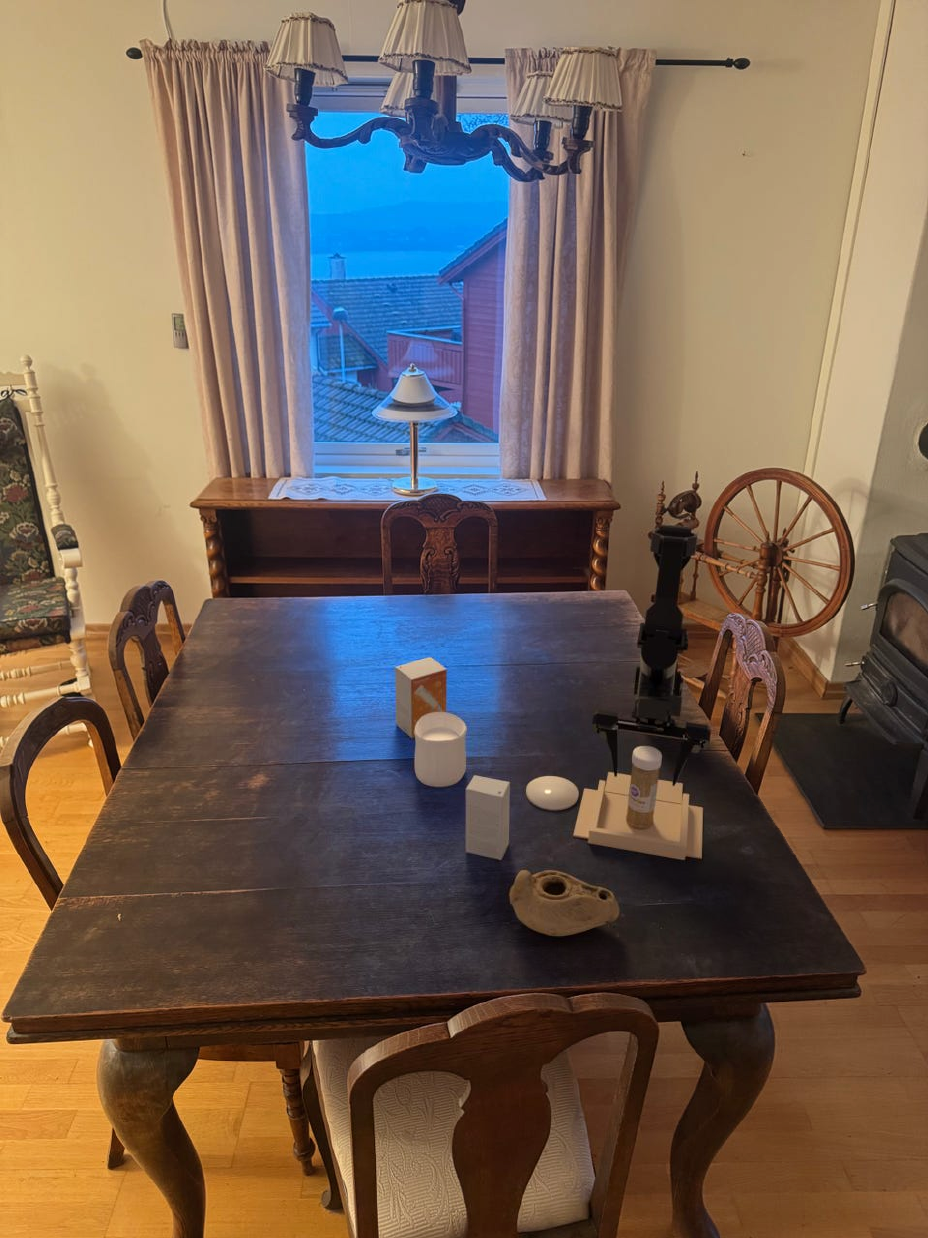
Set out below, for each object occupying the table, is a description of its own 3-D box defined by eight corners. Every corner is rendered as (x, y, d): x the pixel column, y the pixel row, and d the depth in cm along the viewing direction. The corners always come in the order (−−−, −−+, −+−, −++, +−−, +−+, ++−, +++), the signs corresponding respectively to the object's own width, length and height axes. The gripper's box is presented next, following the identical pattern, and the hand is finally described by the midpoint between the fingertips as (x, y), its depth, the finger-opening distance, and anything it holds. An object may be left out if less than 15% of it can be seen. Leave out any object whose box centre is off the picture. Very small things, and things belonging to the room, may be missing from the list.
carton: (588, 770, 153) (589, 758, 152) (703, 788, 148) (704, 776, 147) (572, 840, 135) (573, 827, 134) (701, 863, 130) (703, 850, 129)
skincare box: (509, 844, 134) (511, 781, 129) (501, 861, 131) (503, 797, 126) (473, 836, 136) (473, 774, 131) (464, 852, 132) (464, 789, 127)
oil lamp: (623, 949, 115) (628, 904, 111) (513, 952, 114) (514, 907, 111) (607, 892, 125) (611, 849, 121) (506, 894, 124) (507, 851, 121)
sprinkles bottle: (620, 822, 139) (627, 753, 133) (634, 809, 142) (642, 741, 137) (645, 834, 136) (653, 764, 131) (658, 820, 140) (667, 751, 134)
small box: (411, 739, 162) (410, 679, 156) (395, 724, 166) (393, 666, 161) (447, 727, 166) (447, 668, 160) (430, 713, 171) (430, 655, 165)
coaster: (563, 774, 151) (563, 771, 151) (587, 803, 144) (588, 800, 144) (517, 785, 148) (517, 782, 148) (540, 815, 141) (540, 812, 141)
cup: (427, 795, 146) (426, 747, 142) (403, 765, 154) (402, 719, 150) (476, 780, 150) (476, 733, 146) (450, 752, 158) (450, 706, 154)
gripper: (597, 666, 136) (584, 761, 131) (717, 681, 132) (708, 780, 127) (600, 686, 146) (587, 775, 141) (711, 701, 142) (702, 794, 137)
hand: (644, 781), depth 136 cm, fingers open, 9 cm apart
